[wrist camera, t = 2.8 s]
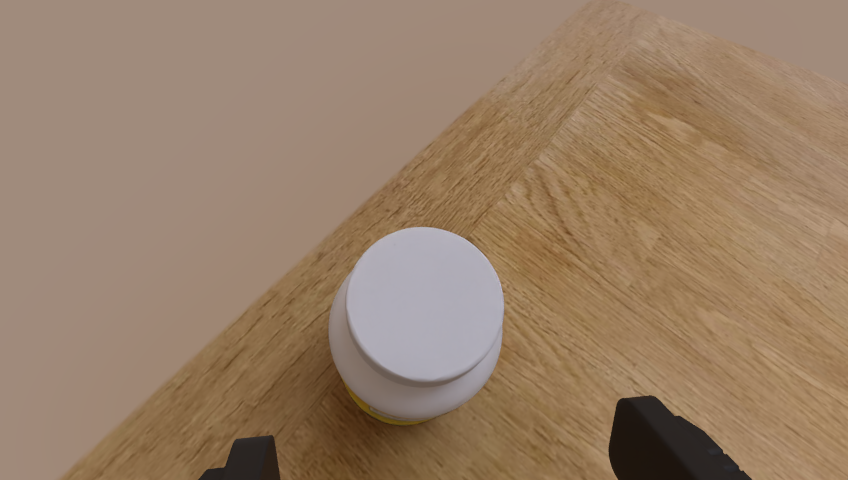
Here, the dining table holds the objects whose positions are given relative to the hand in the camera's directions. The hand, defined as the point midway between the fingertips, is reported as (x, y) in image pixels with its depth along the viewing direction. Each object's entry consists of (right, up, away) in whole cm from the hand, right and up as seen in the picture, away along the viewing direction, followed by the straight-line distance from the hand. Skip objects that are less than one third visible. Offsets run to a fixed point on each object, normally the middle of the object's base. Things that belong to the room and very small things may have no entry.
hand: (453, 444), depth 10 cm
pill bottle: (-2, -2, +13) cm, 13 cm away
